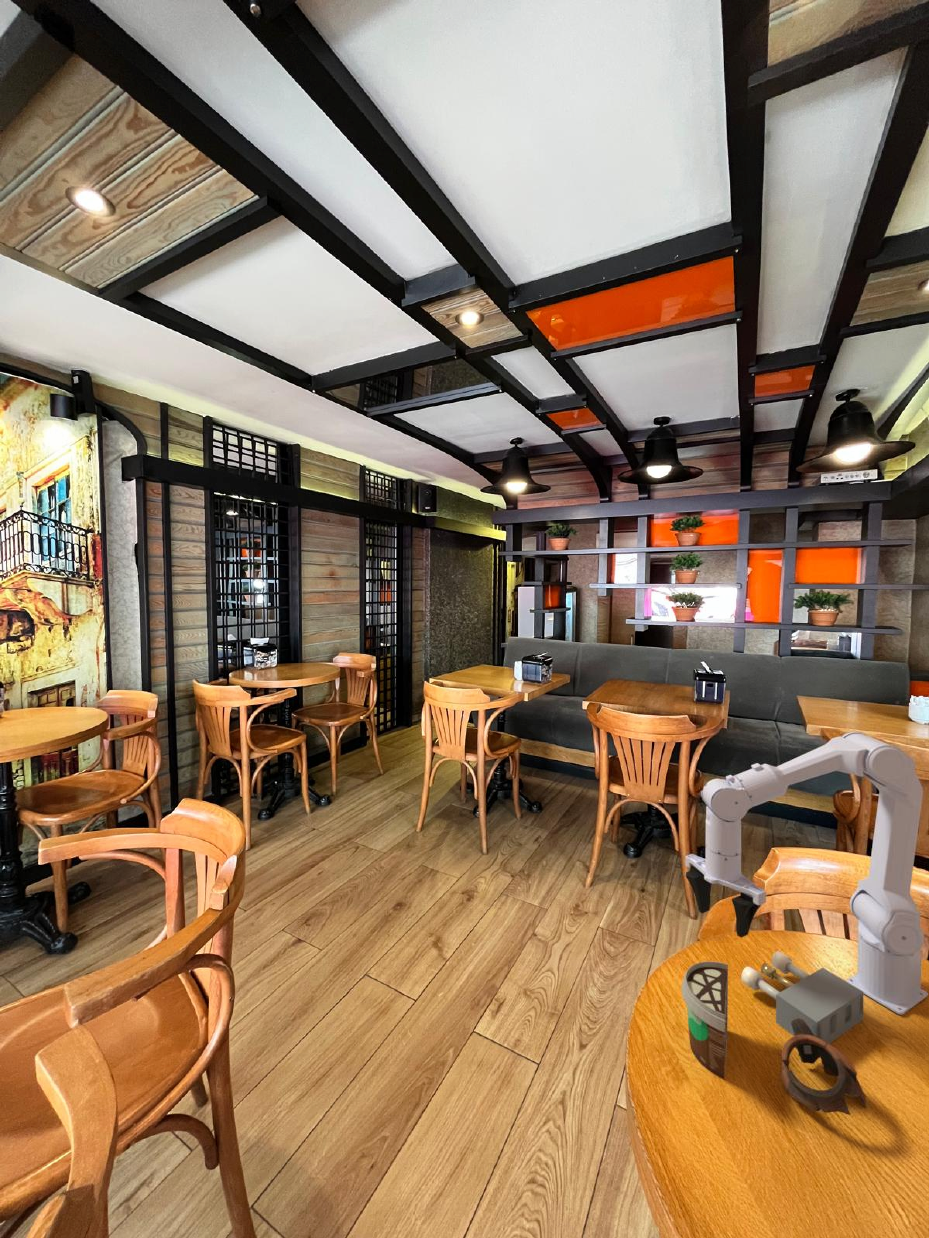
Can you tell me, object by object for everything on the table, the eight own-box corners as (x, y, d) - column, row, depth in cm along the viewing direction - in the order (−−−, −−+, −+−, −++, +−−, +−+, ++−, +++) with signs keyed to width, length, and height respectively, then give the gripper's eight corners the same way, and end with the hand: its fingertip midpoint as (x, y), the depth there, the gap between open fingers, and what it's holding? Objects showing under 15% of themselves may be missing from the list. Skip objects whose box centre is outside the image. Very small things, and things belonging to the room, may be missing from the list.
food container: (686, 1008, 83) (686, 949, 82) (727, 1023, 80) (728, 962, 79) (676, 1068, 72) (676, 1000, 72) (724, 1088, 69) (724, 1017, 69)
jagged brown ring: (891, 1134, 63) (871, 1093, 61) (816, 1153, 65) (795, 1113, 63) (830, 1033, 75) (812, 995, 73) (768, 1050, 76) (749, 1014, 75)
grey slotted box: (822, 993, 85) (822, 967, 85) (863, 1019, 80) (863, 991, 80) (776, 1022, 80) (776, 994, 80) (816, 1052, 74) (816, 1022, 74)
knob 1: (751, 979, 87) (751, 963, 87) (795, 1009, 81) (795, 992, 80) (741, 985, 86) (741, 969, 86) (784, 1016, 79) (784, 998, 79)
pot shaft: (767, 971, 88) (767, 961, 88) (808, 998, 82) (808, 987, 82) (760, 974, 88) (760, 964, 87) (802, 1002, 81) (802, 991, 81)
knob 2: (781, 963, 91) (781, 948, 91) (824, 991, 84) (824, 975, 84) (771, 968, 90) (771, 953, 89) (815, 997, 83) (815, 980, 83)
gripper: (674, 836, 94) (674, 907, 95) (747, 872, 81) (747, 954, 82) (699, 828, 98) (699, 897, 98) (773, 862, 85) (773, 941, 85)
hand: (722, 922), depth 90 cm, fingers open, 7 cm apart
